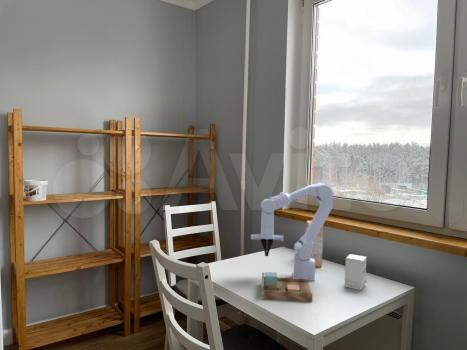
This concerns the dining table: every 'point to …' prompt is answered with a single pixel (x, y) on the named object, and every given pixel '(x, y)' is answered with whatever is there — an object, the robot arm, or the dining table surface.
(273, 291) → the brown wooden tray
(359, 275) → the supplement box
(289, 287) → the clay block
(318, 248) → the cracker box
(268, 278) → the teal block
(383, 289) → the dining table surface
